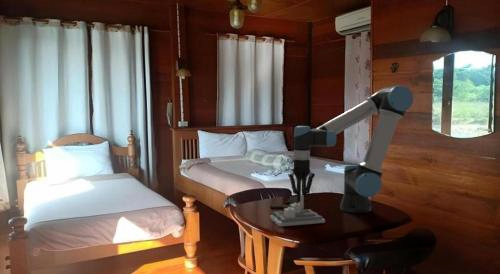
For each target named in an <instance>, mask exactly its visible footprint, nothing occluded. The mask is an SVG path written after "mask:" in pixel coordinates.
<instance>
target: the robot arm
mask: <svg viewBox="0 0 500 274" xmlns="http://www.w3.org/2000/svg"><path fill="white" fill-rule="evenodd" d="M413 104H414V95H413V92H412V90H411V89H410V88H408V87H407V86H406V85H400V84H398V85H397V84H396V85H392V86H386V87H383V88H381V89H380V90H377V91H376V92H375V93H372V94H371V95H369V96H368V97H367V98H366V100H365V101H363V102H361V103H359V104H358V105H355V106H354V107H352V108H350V109H349V110H347V111H345V112H344V113H341V114H340V115H337V116H336V117H334V118H332V119H331V120H329V121H327V122H325V123H324V124H323V123H322V125H320V126H318V127H314V128H312V129H311V127H310V126H308V125H297V126H295V127H294V131H293V133H294V134H293V169H292V172H291V173H288V175H287V176H288V177H289V181H290V185H291V189H292V193H293V194H295V195H296V197H297V201H298V202H299V204H300V205H301V210H305V209H304V206H305V202H306V201H305V198H306V196H307V195H308V194H310V191H311V187H312V184H313V179H314V177H315V176H316V175H315V172H312V171H311V169H310V167H311V160H310V159H311V147H326V148H327V147H328V148H329V147H333V146H336V143H337V135H338V134H340V133H341V132H343V131H345V130H347V129H349V128H350V127H352V126H354V125H356V124H358V123H360V122H361V121H363V120H365V119H367V118H369V117H370V116H372V115H378V114H379V118H378V120H377V123H376V125H375V128H374V130H373V131H374V132H373V133H372V136H371V140H370V142H369V145H368V148H367V150H366V153H365V155H364V159H363V161H362V162H359V163H358V164H347V165H345V166H344V171H343V172H344V173H343V176H344V177H343V178H344V179H343V182H344V183H343V189H344V190H343V197H342V199H341V201H340V205H339V206H340V209H339V210H341V211H343V212H346V213H352V214H367V213H370V212H372V205H371V202H370V199H369V198H372V197H375V196H376V195H378V194H379V193H380V191H381V189H382V187H383V186H382V179H381V178H382V175H383V173H384V172H383V170H382V166H383V164H384V161H385V158H386V155H387V153H388V149H389V146H390V144H391V142H392V139H393V137H394V133H395V131H396V128H397V125H398V123H399V121H400V120H401V119H403V118H404V117H405V113H406V112H407V110H409V109H410V108H411V107H412V105H413ZM294 177H296V180H295V178H294Z"/></svg>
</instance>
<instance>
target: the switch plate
mask: <svg viewBox="0 0 500 274" xmlns="http://www.w3.org/2000/svg"><path fill="white" fill-rule="evenodd" d="M269 219H270V220H271V221H272V222H273V223H274V222H275V225H276V226H277V227H286V226H287V227H289V226H301V225H313V224H314V225H315V224H325V223H326V219H325V218H323V216H322V215H319V214H318V213H317V212H316V211H313V210H312V209H301V213H295V218H288V219H285V218H284V210H283V211H273V212H272V214H271V215H269Z"/></svg>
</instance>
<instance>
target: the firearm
mask: <svg viewBox="0 0 500 274" xmlns="http://www.w3.org/2000/svg"><path fill="white" fill-rule="evenodd" d="M306 201H308V197H305V202H306ZM294 203H297V204H299V202H298V201H297V196H290V197H289V198H288V200H286V201H284V202H283V204H272V203H271V204H270V206H269V208H270V209H271V208H273V210H284V209H285V208H287V207H290V204H294ZM287 204H288V205H287Z"/></svg>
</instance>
